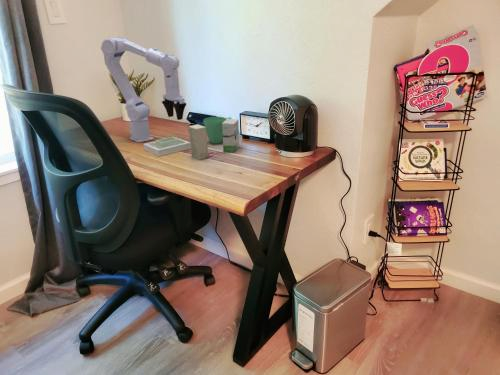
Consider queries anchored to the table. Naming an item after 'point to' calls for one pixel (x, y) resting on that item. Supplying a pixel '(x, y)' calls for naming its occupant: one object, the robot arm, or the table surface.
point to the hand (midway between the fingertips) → (175, 118)
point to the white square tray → (159, 152)
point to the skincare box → (198, 141)
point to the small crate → (166, 142)
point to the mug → (214, 128)
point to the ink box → (230, 135)
